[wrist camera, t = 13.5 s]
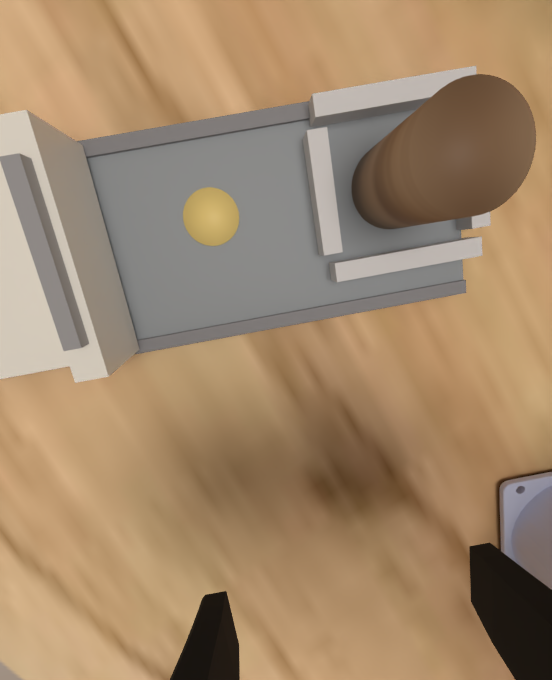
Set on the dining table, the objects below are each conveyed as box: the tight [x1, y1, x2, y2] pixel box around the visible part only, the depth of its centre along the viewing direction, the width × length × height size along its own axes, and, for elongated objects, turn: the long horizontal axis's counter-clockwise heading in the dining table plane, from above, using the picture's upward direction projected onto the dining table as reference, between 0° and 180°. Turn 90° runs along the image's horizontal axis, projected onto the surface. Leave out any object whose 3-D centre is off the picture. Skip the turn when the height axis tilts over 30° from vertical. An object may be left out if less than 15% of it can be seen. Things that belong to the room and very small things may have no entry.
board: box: [9, 66, 490, 378], centre depth 16 cm, size 27×9×2 cm, turn 100°
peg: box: [351, 74, 536, 229], centre depth 13 cm, size 4×4×6 cm
